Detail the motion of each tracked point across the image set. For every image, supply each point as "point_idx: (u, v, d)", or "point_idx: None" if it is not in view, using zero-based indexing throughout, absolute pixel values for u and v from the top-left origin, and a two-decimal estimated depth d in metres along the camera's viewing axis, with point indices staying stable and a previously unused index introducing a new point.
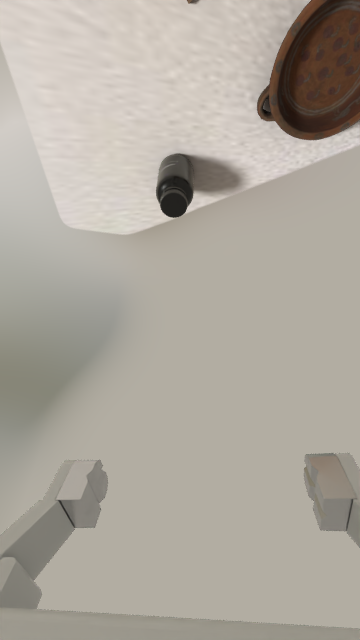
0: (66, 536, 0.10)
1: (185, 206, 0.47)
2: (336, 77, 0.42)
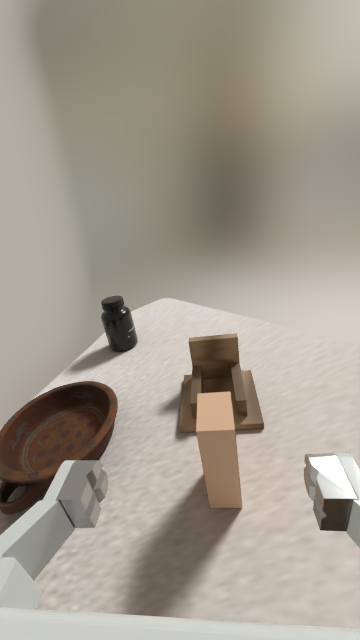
0: (66, 536, 0.10)
1: (103, 302, 0.60)
2: (49, 442, 0.41)
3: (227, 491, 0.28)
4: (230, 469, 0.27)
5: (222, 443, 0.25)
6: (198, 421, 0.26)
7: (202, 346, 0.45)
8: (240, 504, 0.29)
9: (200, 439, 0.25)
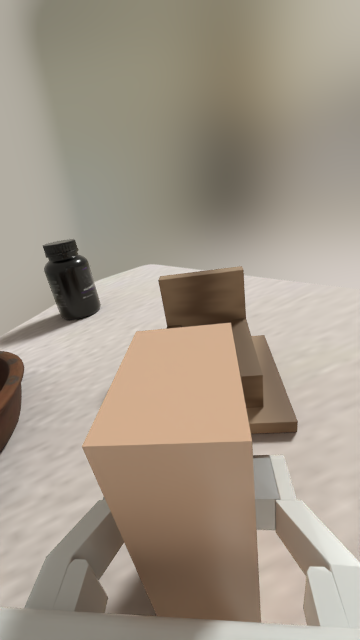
0: None
1: (45, 245, 0.41)
2: None
3: None
4: (229, 577, 0.08)
5: (199, 496, 0.06)
6: (108, 406, 0.07)
7: (181, 288, 0.26)
8: None
9: (108, 480, 0.06)
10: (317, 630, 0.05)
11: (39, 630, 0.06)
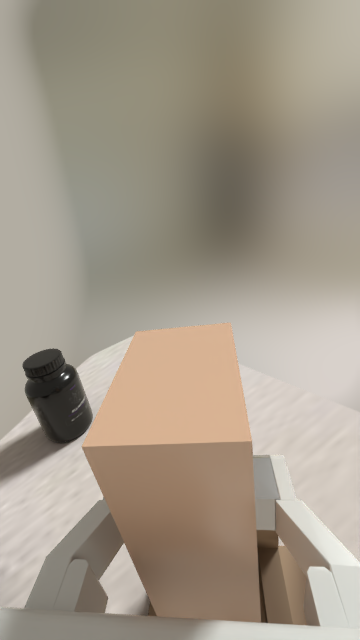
0: None
1: (25, 365, 0.34)
2: None
3: None
4: (229, 577, 0.08)
5: (198, 495, 0.06)
6: (107, 406, 0.07)
7: None
8: None
9: (108, 480, 0.06)
10: (317, 630, 0.05)
11: (39, 630, 0.06)
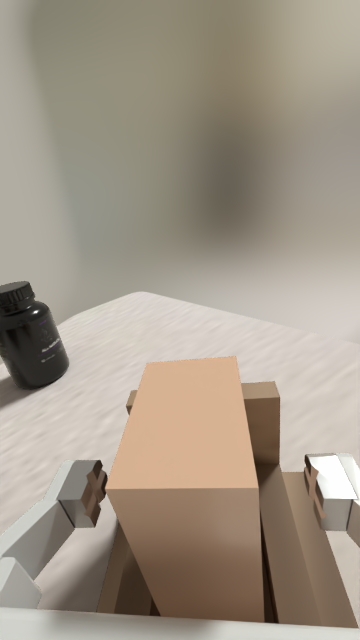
0: (66, 536, 0.10)
1: None
2: None
3: None
4: (236, 600, 0.08)
5: (209, 530, 0.07)
6: (125, 446, 0.07)
7: None
8: None
9: (127, 516, 0.07)
10: (317, 630, 0.05)
11: (39, 630, 0.06)
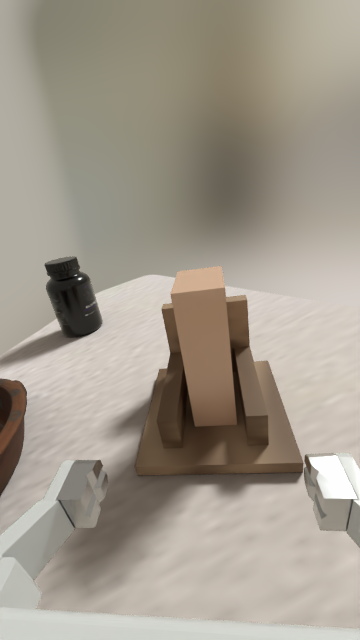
0: (66, 536, 0.10)
1: (47, 263, 0.41)
2: None
3: (216, 398, 0.21)
4: (219, 360, 0.20)
5: (208, 313, 0.18)
6: (175, 287, 0.19)
7: None
8: (234, 418, 0.22)
9: (177, 309, 0.18)
10: (317, 630, 0.05)
11: (39, 630, 0.06)
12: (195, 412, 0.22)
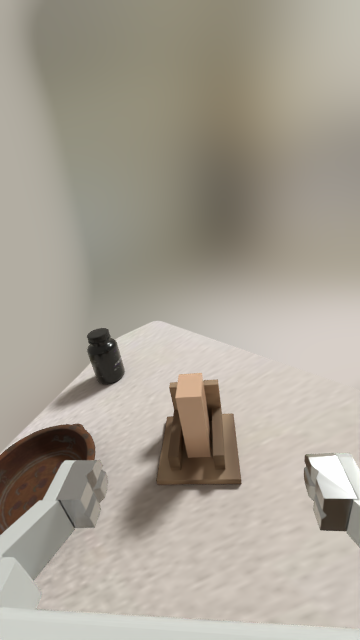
0: (66, 536, 0.10)
1: (89, 336, 0.60)
2: (27, 493, 0.41)
3: (199, 443, 0.40)
4: (200, 426, 0.38)
5: (193, 406, 0.37)
6: (177, 391, 0.37)
7: None
8: (209, 454, 0.41)
9: (178, 404, 0.37)
10: (317, 630, 0.05)
11: (39, 630, 0.06)
12: (188, 450, 0.41)
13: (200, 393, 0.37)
